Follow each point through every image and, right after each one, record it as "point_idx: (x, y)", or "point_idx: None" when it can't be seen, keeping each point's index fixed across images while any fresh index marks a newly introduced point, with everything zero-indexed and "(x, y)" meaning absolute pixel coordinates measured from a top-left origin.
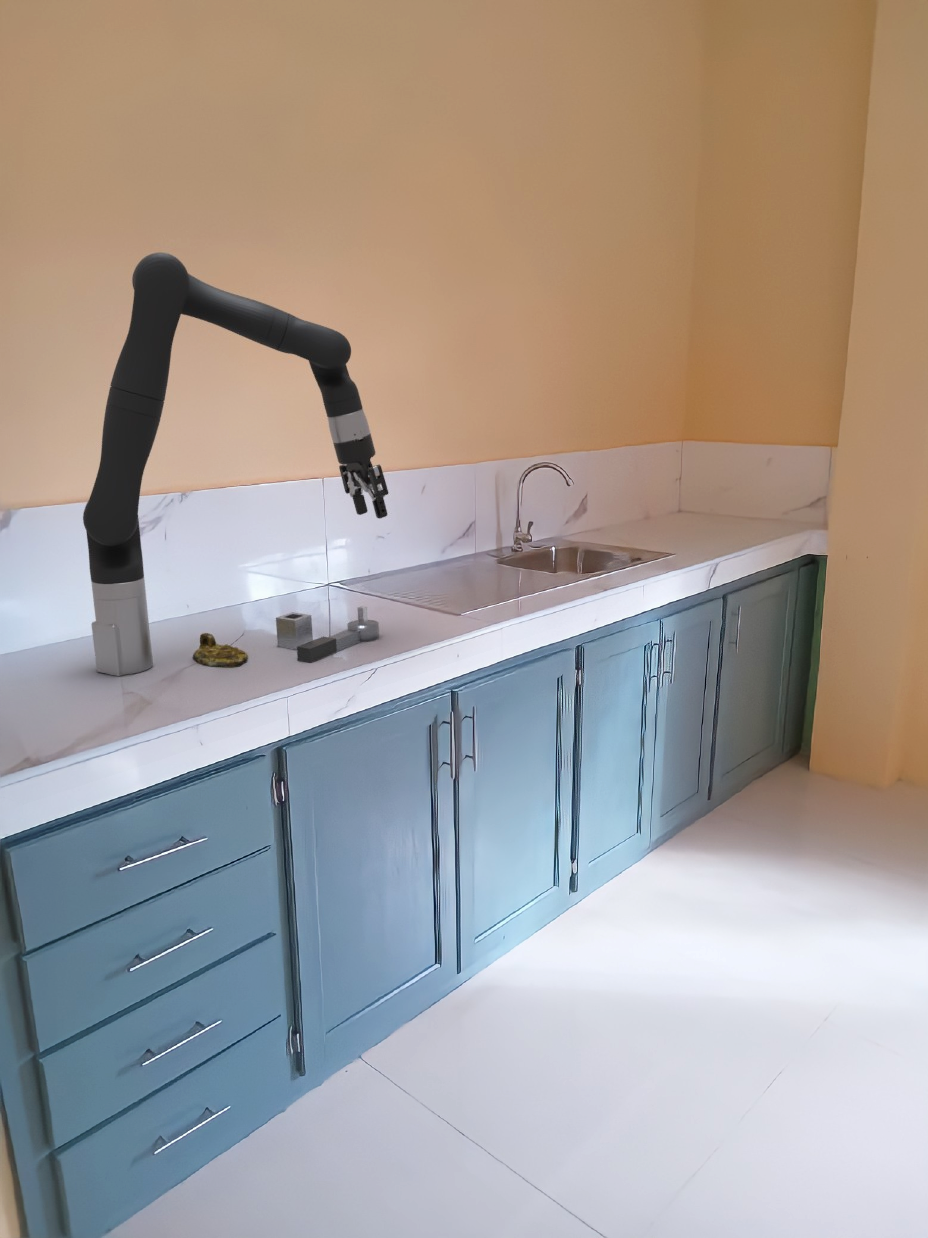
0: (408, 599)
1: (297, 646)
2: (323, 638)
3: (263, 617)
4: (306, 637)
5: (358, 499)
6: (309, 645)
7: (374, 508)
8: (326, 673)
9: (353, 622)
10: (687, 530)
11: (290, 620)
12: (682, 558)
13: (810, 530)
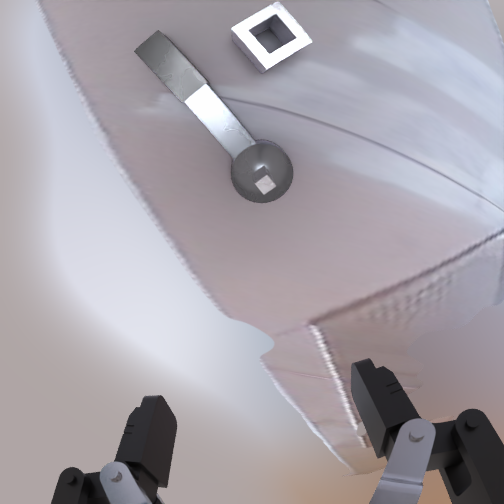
0: (419, 288)
1: (158, 31)
2: (191, 80)
3: (453, 71)
4: (251, 59)
5: (376, 429)
6: (154, 51)
7: (145, 429)
8: (85, 77)
9: (279, 159)
10: None
11: (242, 21)
12: (354, 449)
13: (355, 473)
